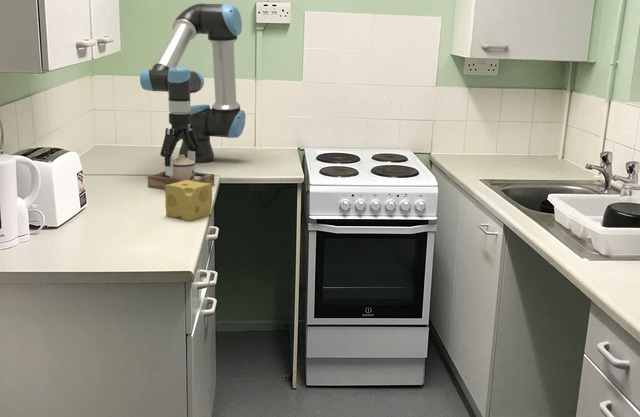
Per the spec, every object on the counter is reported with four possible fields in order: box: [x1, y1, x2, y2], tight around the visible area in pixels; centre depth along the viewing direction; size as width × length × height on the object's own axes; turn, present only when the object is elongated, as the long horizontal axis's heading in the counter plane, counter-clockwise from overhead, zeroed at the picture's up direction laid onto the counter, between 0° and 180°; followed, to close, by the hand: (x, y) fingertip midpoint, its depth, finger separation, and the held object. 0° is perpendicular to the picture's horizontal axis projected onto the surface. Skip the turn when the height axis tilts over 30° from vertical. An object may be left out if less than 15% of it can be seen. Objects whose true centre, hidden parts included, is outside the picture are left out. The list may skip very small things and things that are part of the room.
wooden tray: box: [147, 170, 215, 191], centre depth 252 cm, size 15×18×4 cm
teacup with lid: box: [170, 154, 196, 180], centre depth 251 cm, size 12×9×12 cm
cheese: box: [164, 180, 213, 222], centre depth 214 cm, size 10×11×10 cm
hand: (180, 172), depth 250 cm, fingers open, 13 cm apart
